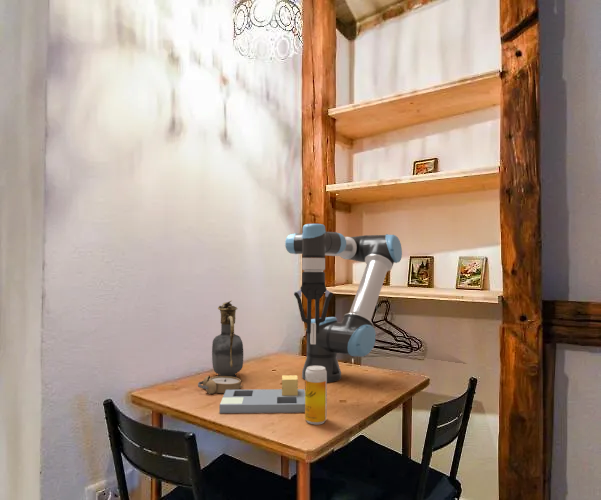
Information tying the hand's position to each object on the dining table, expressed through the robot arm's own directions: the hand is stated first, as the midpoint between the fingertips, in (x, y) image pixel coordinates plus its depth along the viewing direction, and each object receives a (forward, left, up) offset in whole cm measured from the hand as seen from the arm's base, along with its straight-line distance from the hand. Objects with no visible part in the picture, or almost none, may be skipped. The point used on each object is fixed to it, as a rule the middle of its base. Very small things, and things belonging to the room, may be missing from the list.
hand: (313, 343), depth 138 cm
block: (+7, 0, -16) cm, 18 cm away
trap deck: (+15, +3, -18) cm, 24 cm away
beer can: (0, +18, -19) cm, 26 cm away
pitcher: (+30, -25, -19) cm, 44 cm away
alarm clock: (+32, -12, -19) cm, 39 cm away
